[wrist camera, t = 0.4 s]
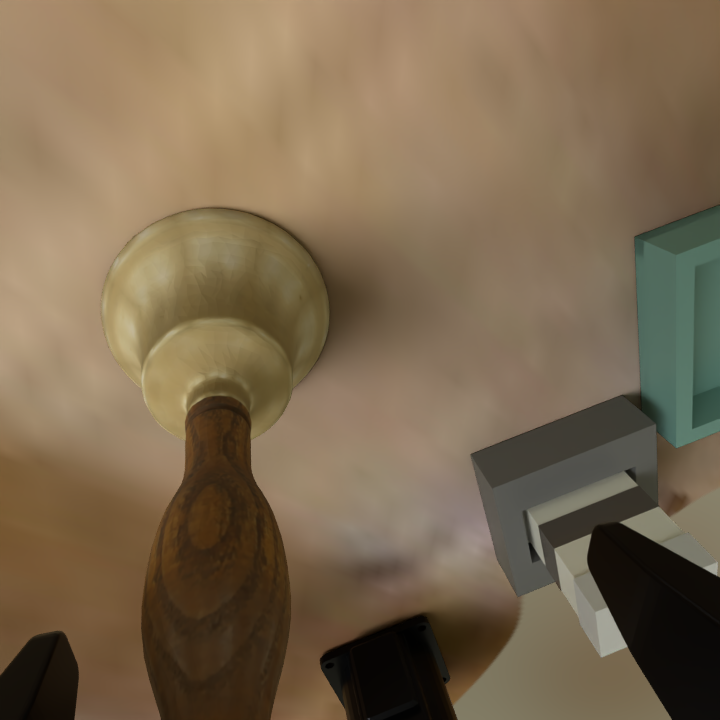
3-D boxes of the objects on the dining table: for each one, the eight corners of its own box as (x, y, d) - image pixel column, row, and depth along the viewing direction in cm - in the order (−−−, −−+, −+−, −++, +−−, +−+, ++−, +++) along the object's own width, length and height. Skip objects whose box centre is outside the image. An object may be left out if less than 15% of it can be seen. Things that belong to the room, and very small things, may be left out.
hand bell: (51, 327, 20) (-291, 897, 7) (205, 154, 19) (177, 428, 5) (231, 444, 24) (251, 952, 11) (371, 309, 23) (606, 698, 9)
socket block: (629, 506, 32) (659, 539, 30) (497, 560, 32) (517, 597, 29) (622, 395, 28) (656, 423, 26) (470, 454, 27) (492, 488, 25)
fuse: (602, 485, 31) (715, 610, 24) (513, 520, 30) (600, 657, 24) (598, 441, 29) (717, 561, 22) (504, 478, 29) (595, 612, 22)
